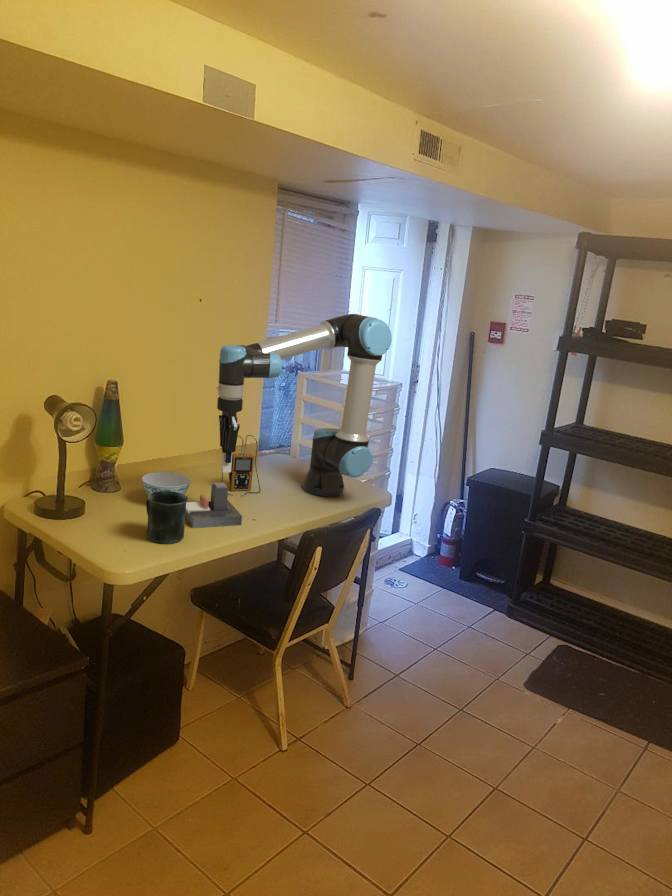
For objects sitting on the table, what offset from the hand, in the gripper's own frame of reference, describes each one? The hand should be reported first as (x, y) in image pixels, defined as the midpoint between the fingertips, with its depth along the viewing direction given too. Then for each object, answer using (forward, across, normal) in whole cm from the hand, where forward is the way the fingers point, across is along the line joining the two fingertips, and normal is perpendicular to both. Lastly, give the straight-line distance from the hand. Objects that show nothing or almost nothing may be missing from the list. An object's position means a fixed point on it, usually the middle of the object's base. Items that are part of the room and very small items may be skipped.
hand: (226, 471), depth 216 cm
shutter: (+11, +2, -10) cm, 15 cm away
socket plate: (+14, +3, -5) cm, 15 cm away
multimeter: (+15, -18, +13) cm, 26 cm away
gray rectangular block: (+14, +2, -3) cm, 14 cm away
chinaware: (+14, -13, -15) cm, 25 cm away
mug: (+14, +14, -23) cm, 30 cm away
